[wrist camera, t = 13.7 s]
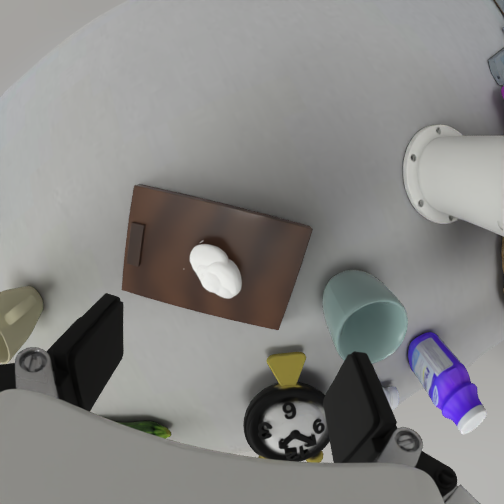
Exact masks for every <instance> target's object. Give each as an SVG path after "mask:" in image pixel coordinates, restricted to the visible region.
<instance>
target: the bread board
mask: <svg viewBox="0 0 504 504" xmlns="http://www.w3.org/2000/svg"><path fill="white" fill-rule="evenodd" d="M312 230H313V229H312V228H311V227H310V226H308V225H304V224H300V223H297V222H293V221H289V220H286V219H282V218H278V217H274V216H271V215H267V214H263V213H259V212H255V211H251V210H247V209H244V208H240V207H236V206H232V205H228V204H223V203H219V202H215V201H211V200H207V199H203V198H198V197H194V196H190V195H186V194H181V193H177V192H172V191H168V190H163V189H159V188H154V187H150V186H145V185H140V184H139V185H135V186H134V190H133V196H132V202H131V209H130V216H129V223H128V230H127V239H126V247H125V257H124V268H123V281H122V290H124V291H127V292H130V293H134V294H137V295H140V296H144V297H147V298H150V299H154V300H157V301H161V302H164V303H168V304H172V305H175V306H179V307H183V308H186V309H190V310H194V311H198V312H202V313H206V314H209V315H213V316H218V317H222V318H226V319H230V320H234V321H239V322H243V323H247V324H252V325H256V326H261V327H266V328H270V329H275V330H279V327H280V325H281V322H282V319H283V316H284V313H285V311H286V308H287V305H288V302H289V299H290V296H291V293H292V291H293V288H294V285H295V282H296V279H297V276H298V273H299V270H300V267H301V264H302V261H303V258H304V255H305V252H306V249H307V245H308V242H309V239H310V236H311V233H312ZM201 241H203V242H201ZM200 242H201V243H200ZM200 244H209V245H213V246H216V247H219V248H220V249H222V250H223V251H224V252H225V253H226V255H227V256H228V259H230V260H232V261H233V262H234V263H235V264H236V266H237V267H238V269H239V271H240V274H241V279H242V287H241V290H240V292H239V293H238V294H237V295H236V296H234V297H232V298H229V299H227V298H223V297H221V296H219V295H217V294H215V293H213V292H209V291H208V290H206V289H205V288H204V287H203V286H202V283H201V281H200V280H199V277H198V276H197V274H196V272H195V271H194V270H193V268H192V265H191V263H190V254H191V251H192V250H193V248H194V247H195V246H197V245H200Z"/></svg>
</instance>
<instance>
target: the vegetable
mask: <svg viewBox="0 0 504 504" xmlns="http://www.w3.org/2000/svg"><path fill="white" fill-rule="evenodd" d="M120 424H122V425H125V426H128V427H131V428H133V429H136V430H139V431H142V432H145V433H148V434H152V435H155V436H158V437H161V438H165V439H166V438H167V437H170V436H171V432H170V431H169V430H168V429H167V428H166V427H164V426H161V425H159V424H157V423H156V422H153V421H140V422H132V423H120Z"/></svg>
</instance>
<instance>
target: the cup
mask: <svg viewBox="0 0 504 504" xmlns="http://www.w3.org/2000/svg"><path fill="white" fill-rule="evenodd" d="M322 307H323V313H324V318H325V322H326V325H327V328H328V330H329V333H330V336H331V338H332V341H333V343H334V346H335V348H336V350H337V352H338V354H339V355H340V357H341V358H342V359H343V360H344V361H345V359H346V357H347V355H348V354H351V353H352V352H354V351H356V352H363V353H367V355H368V357H369V359H370V361H371V363H372V364H373V363H376V362H379V361H381V360H383V359H385V358H387V357H388V356H390V355H391V354H392V353H393V352H395V351H396V350H397V348H398V347H399V346H400V345H401V343H402V341H403V339H404V337H405V334H406V331H407V326H408V318H407V313H406V310H405V308H404V306H403V305H402V303H401V302H400V301H399V300H398V299H397V297H396V296H395V295H394V294H393V293H392V292H391V291H390V290H389V289H388V288H387V287H386V286H385V285H384V284H383V283H382V282H381V281H380V280H379V279H377V278H376V277H375V276H373V275H371V274H369V273H367V272H365V271H361V270H347V271H344V272H341V273H339V274H337V275H335V276H334V277H333V278H332V279H331V280H330V281H329V282H328V283H327V285H326V287H325V289H324V292H323V298H322Z"/></svg>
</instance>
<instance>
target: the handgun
mask: <svg viewBox="0 0 504 504" xmlns="http://www.w3.org/2000/svg"><path fill="white" fill-rule="evenodd" d="M494 1H495V3H496V4H497V6H498V7H499V8H500V10H501V11H502V13H503V14H504V0H494ZM503 29H504V27H503ZM488 61H489V66H490V70H491V73H492V75H493V76H494V78H495V80H496V81H497V83H498V84H500V85H504V48H503V49H502V50H501V51H500V52H498V53H497V54H496V55H494V56H493V57H492V58H490V59H489V60H488Z"/></svg>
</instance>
